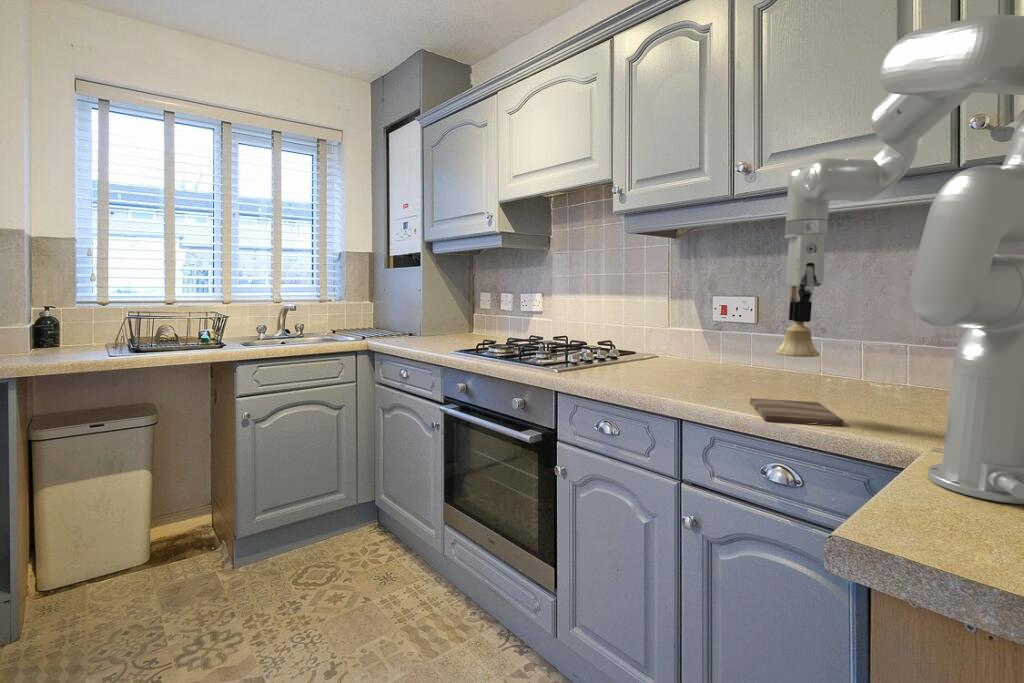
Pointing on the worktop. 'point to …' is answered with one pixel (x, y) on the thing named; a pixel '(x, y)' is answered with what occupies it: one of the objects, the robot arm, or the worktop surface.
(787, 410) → the walnut board
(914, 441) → the worktop surface
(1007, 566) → the worktop surface
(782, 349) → the hand bell
